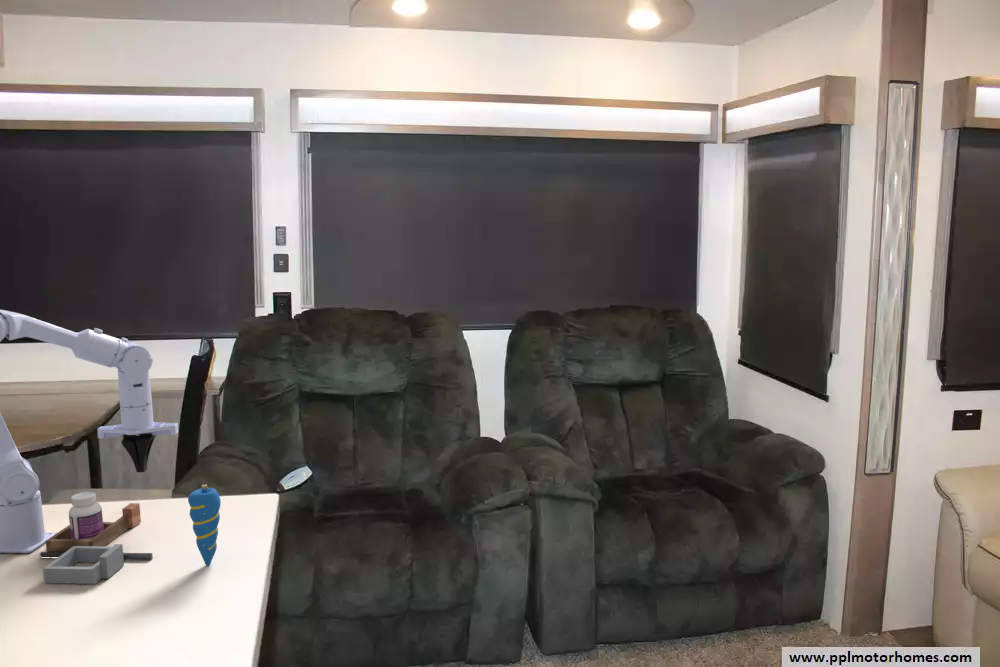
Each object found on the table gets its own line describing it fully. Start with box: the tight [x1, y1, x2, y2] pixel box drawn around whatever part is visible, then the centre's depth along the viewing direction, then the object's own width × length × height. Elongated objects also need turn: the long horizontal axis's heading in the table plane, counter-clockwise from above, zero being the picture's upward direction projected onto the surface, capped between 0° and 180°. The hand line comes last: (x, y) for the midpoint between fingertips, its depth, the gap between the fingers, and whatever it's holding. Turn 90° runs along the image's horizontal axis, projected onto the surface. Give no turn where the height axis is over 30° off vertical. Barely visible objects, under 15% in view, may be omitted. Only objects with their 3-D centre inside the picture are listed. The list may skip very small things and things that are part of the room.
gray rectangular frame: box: [42, 543, 125, 585], centre depth 132 cm, size 10×9×4 cm
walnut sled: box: [45, 502, 142, 552], centre depth 146 cm, size 10×15×4 cm, turn 177°
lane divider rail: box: [39, 551, 153, 561], centre depth 138 cm, size 20×1×1 cm, turn 87°
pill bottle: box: [68, 491, 104, 540], centre depth 143 cm, size 5×5×10 cm
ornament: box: [187, 480, 221, 566], centre depth 134 cm, size 5×5×15 cm
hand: (141, 470), depth 155 cm, fingers closed
